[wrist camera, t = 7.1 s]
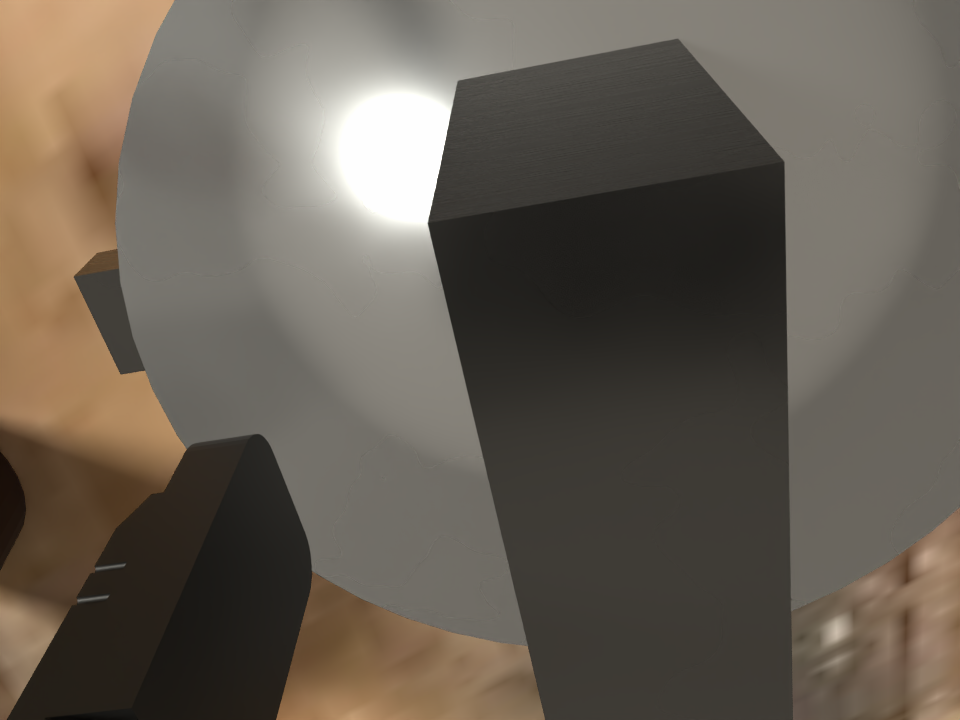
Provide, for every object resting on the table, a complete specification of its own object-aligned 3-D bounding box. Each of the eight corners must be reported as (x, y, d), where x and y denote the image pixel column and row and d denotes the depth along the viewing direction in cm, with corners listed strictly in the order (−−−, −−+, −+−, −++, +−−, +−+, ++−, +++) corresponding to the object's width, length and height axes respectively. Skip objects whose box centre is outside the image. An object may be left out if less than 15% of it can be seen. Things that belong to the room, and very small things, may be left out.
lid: (20, -123, 11) (-484, -87, 6) (1101, -377, 10) (1964, -696, 4) (310, 596, 18) (217, 953, 12) (983, 514, 16) (1241, 881, 11)
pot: (101, -86, 18) (-154, -40, 11) (993, -296, 16) (1372, -403, 9) (286, 407, 24) (197, 634, 17) (944, 305, 22) (1144, 519, 15)
